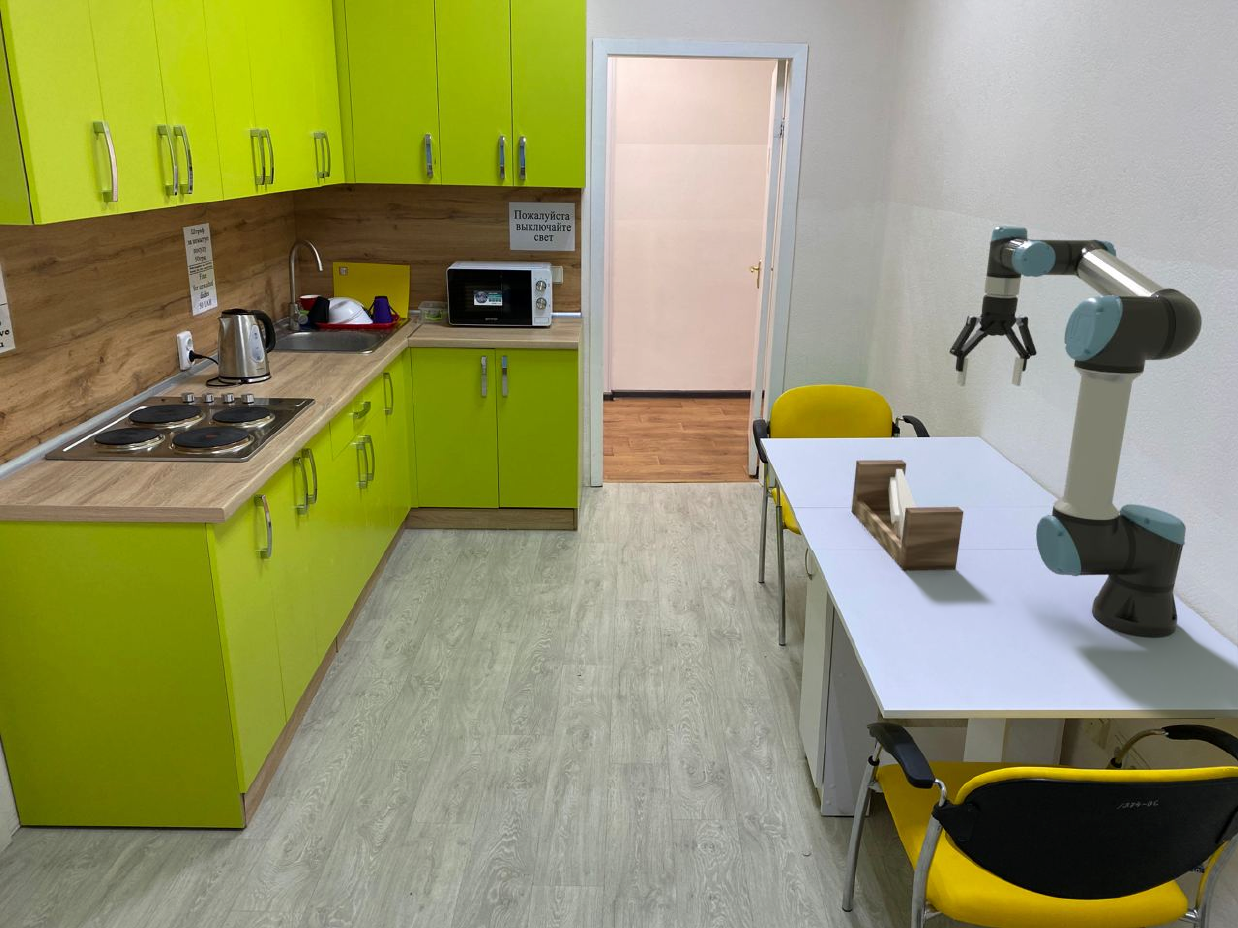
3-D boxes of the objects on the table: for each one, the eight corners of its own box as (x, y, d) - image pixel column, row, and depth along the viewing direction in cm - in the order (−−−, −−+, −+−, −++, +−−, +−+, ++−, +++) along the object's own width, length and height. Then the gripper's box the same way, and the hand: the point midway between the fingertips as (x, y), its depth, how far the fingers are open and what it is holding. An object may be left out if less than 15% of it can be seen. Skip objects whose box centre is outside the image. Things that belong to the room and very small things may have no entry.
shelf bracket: (903, 511, 246) (910, 469, 240) (916, 568, 224) (924, 524, 218) (881, 510, 247) (888, 468, 240) (892, 567, 225) (899, 522, 219)
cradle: (955, 569, 215) (963, 511, 210) (903, 570, 214) (910, 512, 209) (896, 510, 250) (901, 460, 245) (851, 511, 249) (856, 460, 244)
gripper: (1044, 293, 226) (1030, 380, 232) (942, 292, 224) (931, 381, 230) (1060, 297, 219) (1046, 388, 225) (955, 297, 217) (944, 388, 223)
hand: (988, 384), depth 228 cm, fingers open, 13 cm apart
